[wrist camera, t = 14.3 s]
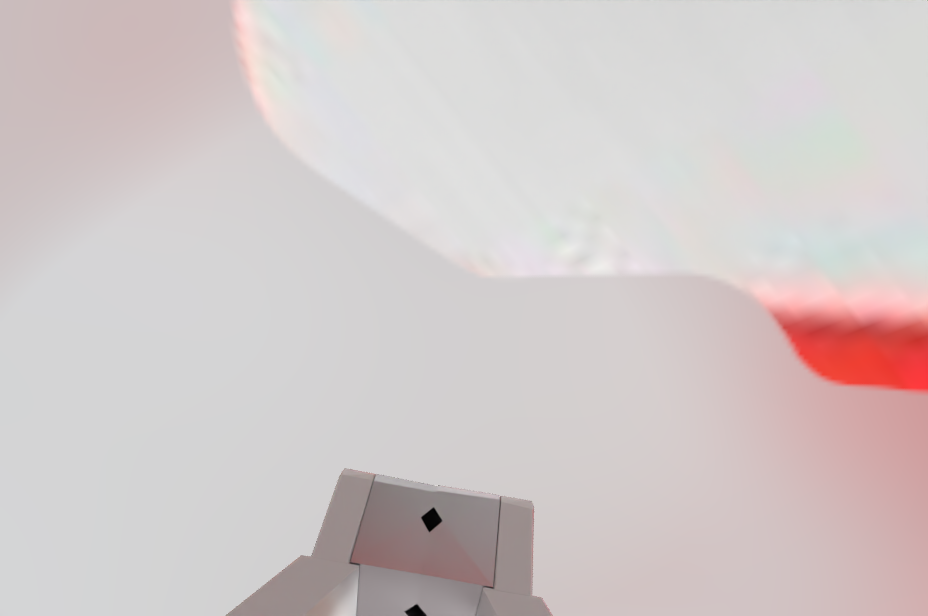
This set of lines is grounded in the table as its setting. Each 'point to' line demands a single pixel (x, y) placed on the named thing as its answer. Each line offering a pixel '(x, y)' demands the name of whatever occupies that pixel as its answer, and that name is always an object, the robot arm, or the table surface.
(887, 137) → the table surface
